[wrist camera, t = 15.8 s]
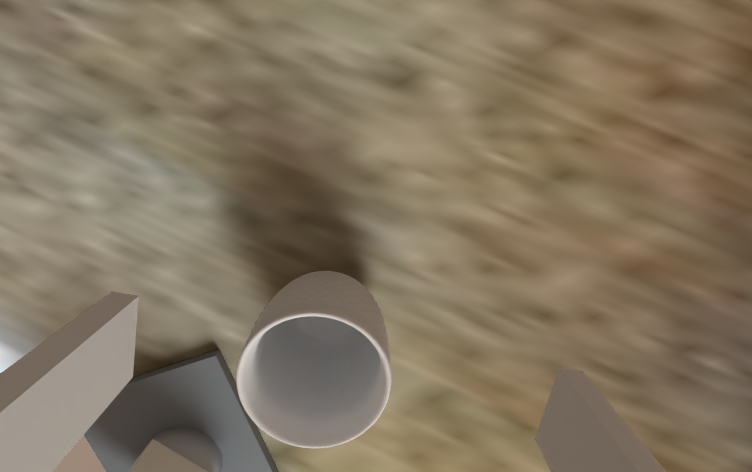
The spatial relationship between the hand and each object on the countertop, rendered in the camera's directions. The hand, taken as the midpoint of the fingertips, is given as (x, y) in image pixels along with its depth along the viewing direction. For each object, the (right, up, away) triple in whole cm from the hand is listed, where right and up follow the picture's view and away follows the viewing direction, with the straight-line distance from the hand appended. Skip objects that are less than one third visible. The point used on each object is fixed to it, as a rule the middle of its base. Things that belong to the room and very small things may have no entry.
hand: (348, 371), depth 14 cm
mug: (-4, -3, +31) cm, 31 cm away
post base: (-19, -19, +34) cm, 44 cm away
